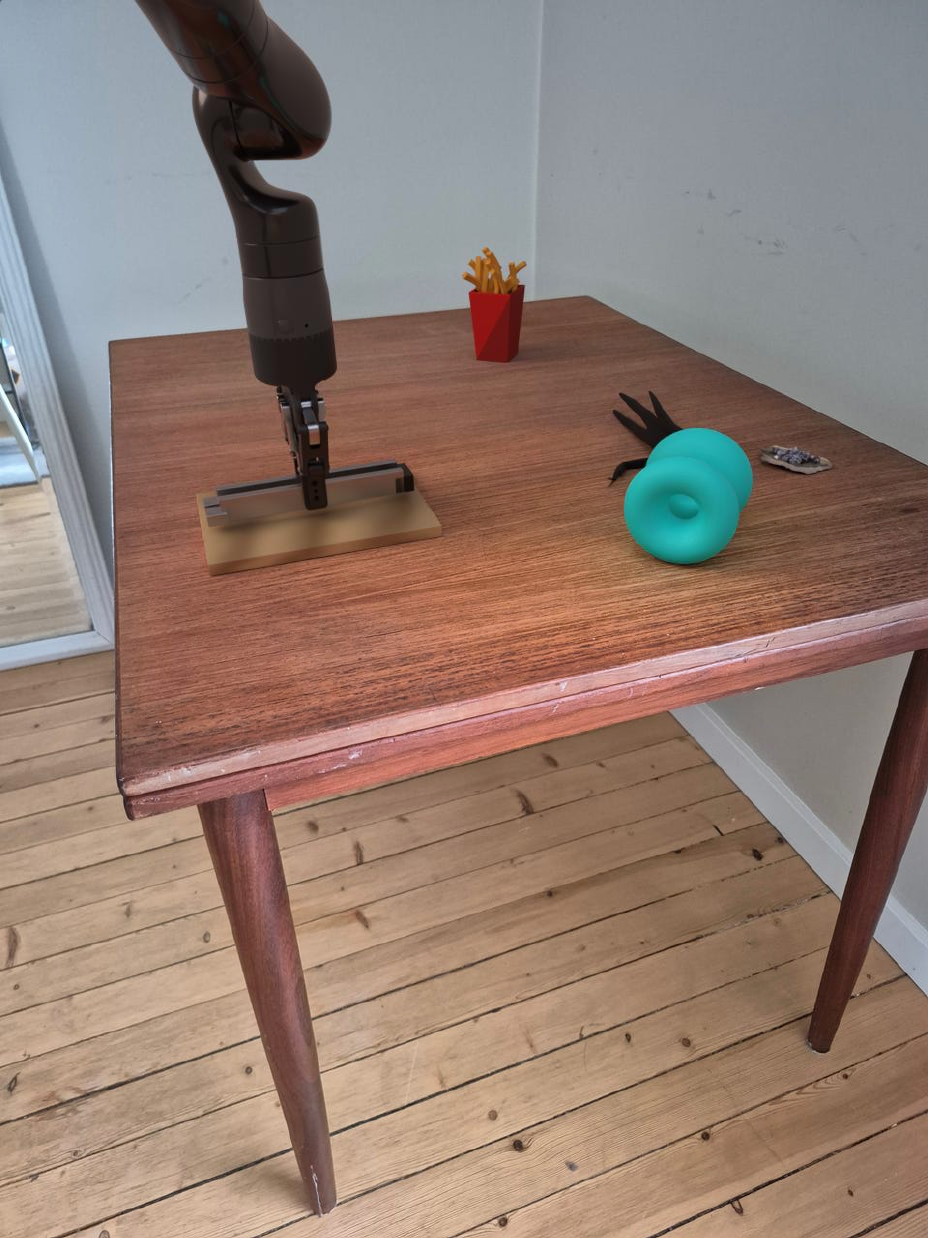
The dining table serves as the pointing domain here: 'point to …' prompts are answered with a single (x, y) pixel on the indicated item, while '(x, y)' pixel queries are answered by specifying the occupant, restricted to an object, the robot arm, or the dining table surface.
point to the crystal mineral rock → (794, 459)
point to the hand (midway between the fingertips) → (312, 498)
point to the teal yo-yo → (689, 496)
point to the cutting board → (316, 531)
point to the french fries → (495, 308)
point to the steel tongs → (289, 495)
